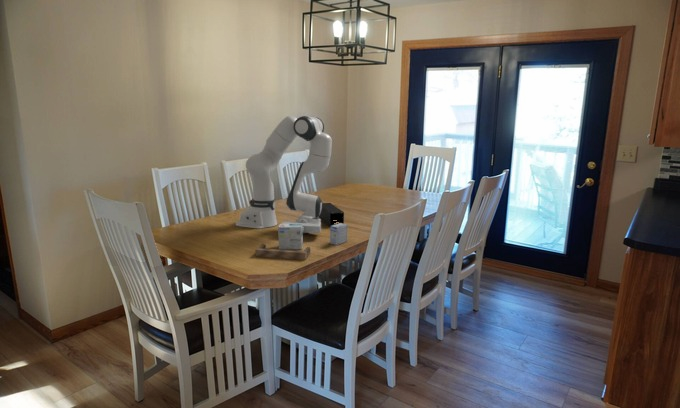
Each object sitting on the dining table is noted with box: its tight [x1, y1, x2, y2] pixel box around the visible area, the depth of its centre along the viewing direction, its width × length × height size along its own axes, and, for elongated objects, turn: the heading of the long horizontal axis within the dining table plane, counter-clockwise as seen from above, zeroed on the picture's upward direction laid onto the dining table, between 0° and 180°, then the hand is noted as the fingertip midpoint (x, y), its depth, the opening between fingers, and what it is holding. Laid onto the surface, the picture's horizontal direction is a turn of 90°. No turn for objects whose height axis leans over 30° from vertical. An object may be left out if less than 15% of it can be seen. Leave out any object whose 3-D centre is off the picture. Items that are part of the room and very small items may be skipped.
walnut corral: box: [255, 243, 311, 261], centre depth 190 cm, size 22×8×3 cm, turn 79°
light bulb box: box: [278, 223, 304, 251], centre depth 200 cm, size 11×7×11 cm, turn 92°
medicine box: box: [329, 223, 348, 246], centre depth 208 cm, size 8×4×9 cm, turn 141°
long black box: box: [318, 202, 345, 227], centre depth 249 cm, size 8×8×28 cm
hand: (296, 231), depth 209 cm, fingers closed
